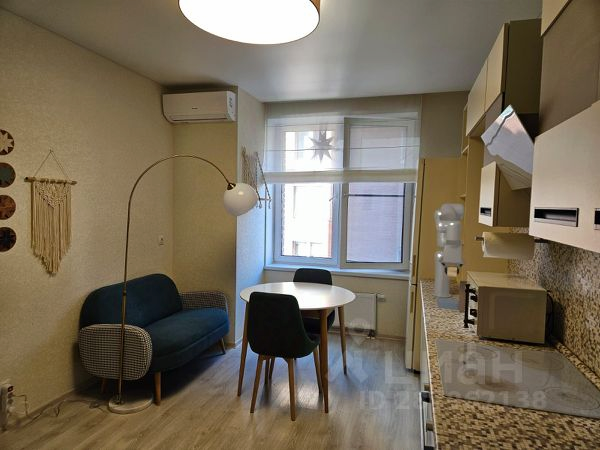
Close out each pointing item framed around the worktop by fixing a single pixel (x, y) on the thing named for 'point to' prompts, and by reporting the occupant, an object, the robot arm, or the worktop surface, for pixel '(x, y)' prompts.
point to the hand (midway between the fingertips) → (451, 274)
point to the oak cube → (452, 271)
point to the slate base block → (448, 303)
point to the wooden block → (462, 296)
